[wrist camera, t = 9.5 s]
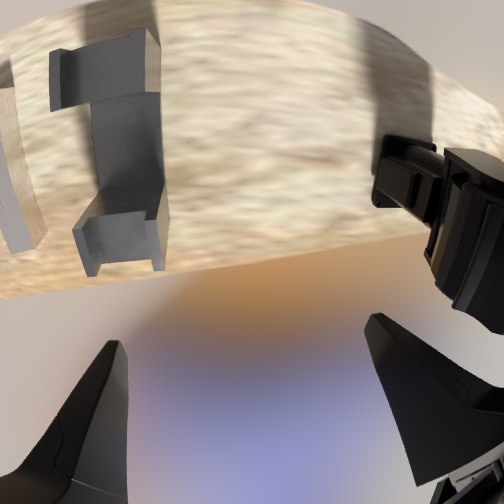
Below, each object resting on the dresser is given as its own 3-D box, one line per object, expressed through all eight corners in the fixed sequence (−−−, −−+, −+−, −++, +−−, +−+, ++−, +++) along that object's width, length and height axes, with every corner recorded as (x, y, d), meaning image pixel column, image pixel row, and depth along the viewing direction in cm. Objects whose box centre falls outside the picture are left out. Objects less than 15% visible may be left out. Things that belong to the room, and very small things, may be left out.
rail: (16, 86, 11) (-5, 89, 8) (49, 229, 17) (35, 248, 15) (-8, 100, 10) (-29, 106, 8) (25, 235, 17) (11, 254, 15)
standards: (161, 48, 13) (146, 27, 8) (169, 218, 19) (164, 270, 14) (92, 61, 12) (49, 52, 7) (110, 225, 18) (87, 277, 13)
